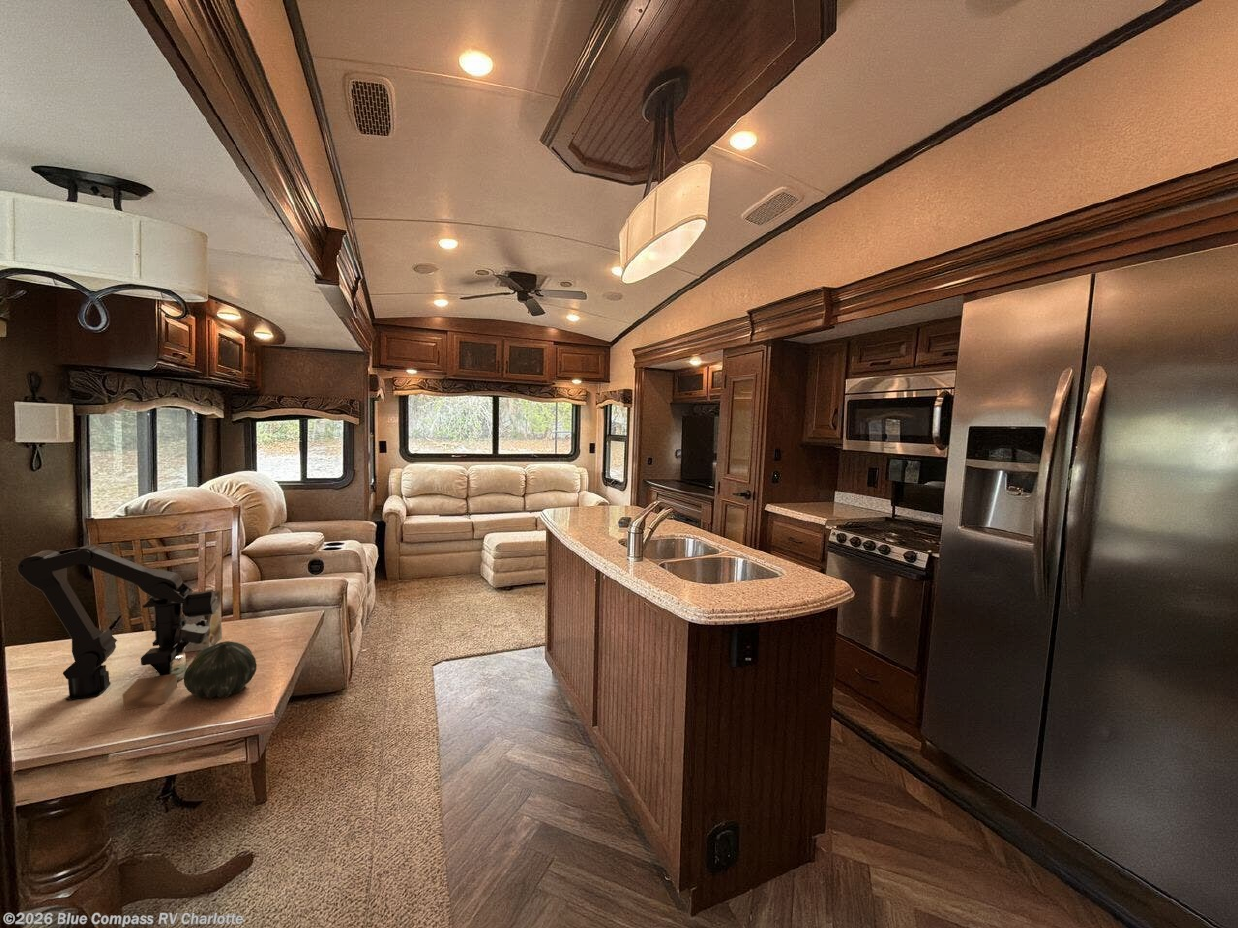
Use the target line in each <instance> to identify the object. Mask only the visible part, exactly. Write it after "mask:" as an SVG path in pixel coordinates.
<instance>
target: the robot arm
mask: <svg viewBox="0 0 1238 928" xmlns="http://www.w3.org/2000/svg"><path fill="white" fill-rule="evenodd" d="M78 565H85V566H87V567H91V568H93V569H96V570H99V571H101V572H103V573H106V574H109V575H111V576H114V577H117V578H119V579H122V580H124V581H126V582H130V583H132V584H134V585H135V586H137V587H138V588H139V589H140V590H141V591H142V592H143V593H145V594H148V595H149V596H150V598H149V599H148V601H146V602H145V603H144V604H143V605H142V608H144V609H146V608H153V616H154V617H153V618H154V619H153V620H154V622H153V623H154V625H153V626H152V627H151V632H154V635H155V639H154V640H153V642H152V647H153V648H150V649H149V650H148V651H146V653H144V654H143V655H142V656H141V657H140V665H141V666H151V667H152V668H153V669H154V670H155V671H156V673H157V672H158V673H159V674H160V675H161V676H162V675H169V674H171V668H172V661H173V660H174V659H175V658H176V657H177V656H178V654H176V652H183V653H184V650H185V649H186V648H185V646H186V645H187V644H188V643H189V642H193V643H195V644H201V643H202V642H203V641H204V639H206V636H207V634H208V631H209V630H210V628H209V627H210V626H208V623H207V620H203V619H201V620H200V621H199V622H198V623H197V624H196V625H195V623H193V624H187V620H185V618H184V617H183V616H184V615H185V616H188V617H196V616H204V615H212V614H215V612H216V607H217V599H216V598H215V594H214V593H213V591H214V589H208V590H204V591H203V590H202V591H196V592H195V591H194V592H193V589H192V588H190V587H189V586H188V585H187V583H185V582H184V581H183V578H182V576H181V575H180V574H179V573H177V572H174V571H171V570H170V571H169V570H165V569H159V568H158V569H157V568H151V567H146V566H145V565H141V564H139V563H136V562H135V561H134V562H133V561H131V560H129V559H126V558H124V557H121V556H119V555H116V554H113V553H110V552H108V551H106V550H104V549H101V548H99V547H97V546H96V545H92V544H88V545H83V546H81V547H74V548H67V549H62V550H57V551H56V550H52V549H45V550H41V551H39V552H36V553H34V554H32V555H29V556H28V557H25V558H24V559H22V560H21V561H20V562H19V563H18V565H17V572H18V574H19V575H20V576H21V578H23V579H24V581H26V583H27V584H29V585H30V586H33V587H34V588H36V589H38V590H39V591H41V592H42V594H43V595H44V597H45V599H46V600H47V602H48V603H49V604H50V607H52V609H53V611H54V613H55V615H56V616H57V618H58V619H59V621H60V622H61V624H62V625H63V627H64V629H65V630H66V632H67V633H68V636H69V637H70V639H71V654H72V656H73V660H74V662H73V663H72V664H71V665H69V666H68V667H67V668H66V669H65V670H64V671H62V674H63V676H64V677H65V679H66V680H67V684H68V696H67V697H65V701H66V702H67V701H72V700H80V699H86V698H87V699H88V698H93V697H98V696H100V695H101V694H102V693H103V692H104V691H105V690H106V689H108V687H110V686H111V685H112V683H111V682H110V672H109V670H107V666H106V664H104V663H106V661H107V660H108V658H109V657H110V656H111V655H113V653H114V652H115V650H116V649H117V645H116V642H117V641H118V640H117V639H116V638H115V637H114V636H113V633H112V631H111V629H110V628H107V629H105V630H101V629H100V628H98V627H96V626H95V624H94V622H93V621H92V619H91V618H90V615H88V612H87V611H86V609H85V607H84V606H83V604H82V603H81V601H80V599H79V598H78V596H77V594H76V593H75V591H74V590H73V588H72V586H71V584H70V583H69V580H68V568H70V567H74V566H78ZM156 646H159V647H156Z"/></svg>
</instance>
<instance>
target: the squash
mask: <svg viewBox="0 0 1238 928" xmlns="http://www.w3.org/2000/svg"><path fill="white" fill-rule="evenodd" d="M257 667H258V664H257V661H256V658H255V656H254V654H253V652H252V650H251V649H250V648H249V647H248V646H247V645H244V644H242V643H239V642H235V641H230V640H228V641H227V640H226V641H222V642H218V643H215V644H214V645H213V646H211V647H208V648H206V649H204V650H200V652H198V653H197V654H196V656H194V658H193V660H192V661H191V663H190V664H189V665H187V667H186V671H185V674H184V678H183V685H184V686H185V688H186V690H187V691H188V692H189V693H190V694H191V695H194V696H196V697H198V698H201V699H202V698H206V697H207V698H215V697H218V698H223V699H224V698H228V697H229V696H230V695H231V694H236V693H237V694H238V693H240V692H241V691H242V690H243V689H244V687H245V686H246V685H247V684H248V683H250V682H251V680H252V679H253V677H254V676H255V673H256V671H257Z"/></svg>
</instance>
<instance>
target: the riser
mask: <svg viewBox="0 0 1238 928" xmlns="http://www.w3.org/2000/svg"><path fill="white" fill-rule="evenodd" d="M177 688H178V681H177V675H176V674H169V675H162V676H157V675H154V676H149V677H142V678H137V679H136V680H135V681H134V682H133V683H132V684H131V685H130V687H129V688H128V689H126V690H125V692H124V693H123V694H122V703H123V710H124V711H127V710H130V709H131V710H132V709H138V708H144V707H150V706H157V705H162V704H166V702H167V701H168V700H169V698H170V697H171V696H172V695H173V693H175V691H176V690H177Z"/></svg>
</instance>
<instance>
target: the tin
mask: <svg viewBox="0 0 1238 928" xmlns="http://www.w3.org/2000/svg"><path fill="white" fill-rule="evenodd" d="M176 654H178V656H177V657H176V658H175V659H174V660H173V661H172V668H171V674H176V675H177V682H178V681H180V680H182V679H184V674H185V671H186V669H187V660H186V653H185V652H184V651H183V652H176ZM156 676H161V675H160V674H159V673H158V672H157V671H156Z"/></svg>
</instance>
